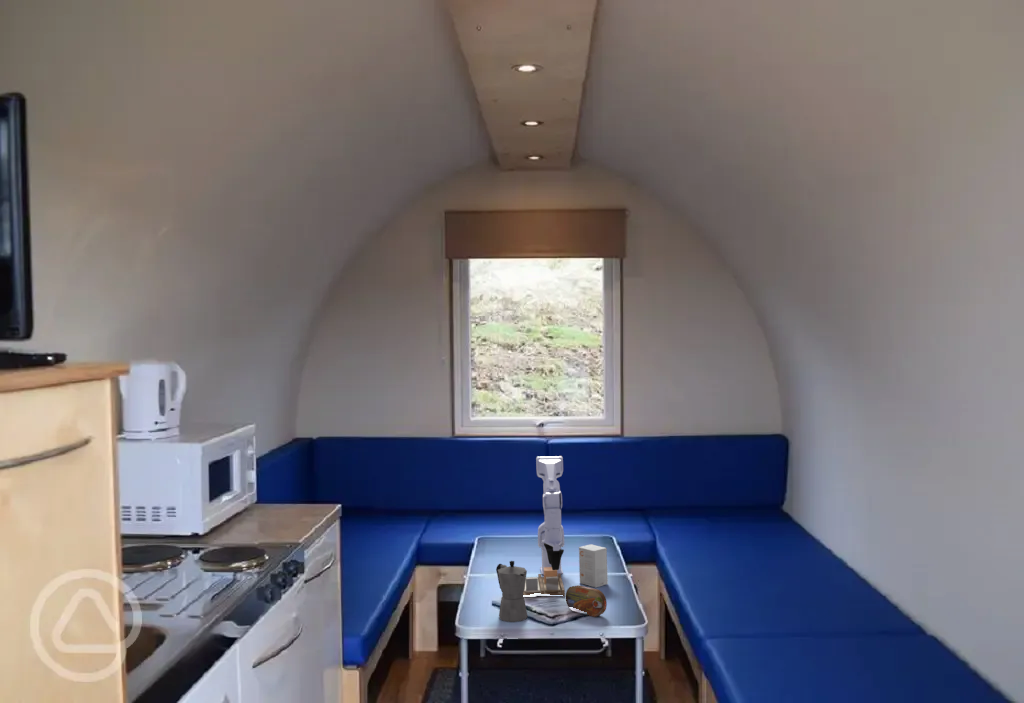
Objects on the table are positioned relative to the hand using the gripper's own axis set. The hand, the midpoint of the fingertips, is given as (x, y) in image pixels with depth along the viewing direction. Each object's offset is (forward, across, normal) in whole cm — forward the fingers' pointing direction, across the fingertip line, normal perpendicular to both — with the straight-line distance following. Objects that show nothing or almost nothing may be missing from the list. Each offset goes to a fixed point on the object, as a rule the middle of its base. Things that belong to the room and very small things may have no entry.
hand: (553, 566), depth 300 cm
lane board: (+9, -8, -4) cm, 13 cm away
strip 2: (+8, -7, 0) cm, 11 cm away
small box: (+10, -10, +15) cm, 21 cm away
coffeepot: (+10, +21, -17) cm, 28 cm away
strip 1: (+8, -7, -7) cm, 13 cm away
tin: (+10, +21, +7) cm, 25 cm away
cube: (+8, -9, 0) cm, 12 cm away
